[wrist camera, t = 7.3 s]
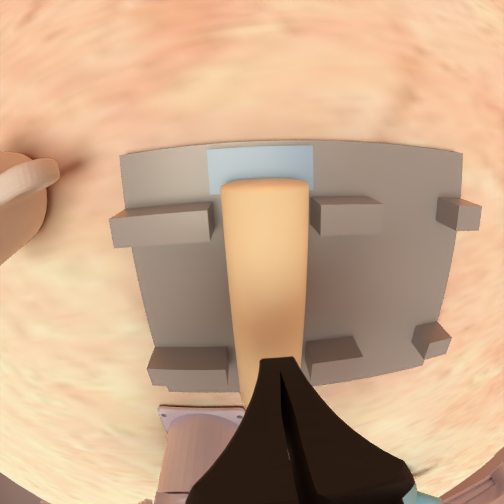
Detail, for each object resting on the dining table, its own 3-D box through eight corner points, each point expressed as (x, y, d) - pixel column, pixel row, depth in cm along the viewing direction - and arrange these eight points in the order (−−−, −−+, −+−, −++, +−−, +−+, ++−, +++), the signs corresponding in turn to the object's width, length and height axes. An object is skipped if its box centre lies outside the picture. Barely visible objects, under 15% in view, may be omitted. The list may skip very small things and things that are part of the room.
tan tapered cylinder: (296, 371, 21) (300, 413, 17) (242, 372, 21) (238, 414, 17) (302, 176, 15) (315, 193, 11) (226, 179, 15) (213, 196, 11)
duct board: (417, 358, 22) (433, 382, 19) (171, 383, 22) (163, 413, 19) (454, 152, 16) (485, 156, 13) (125, 154, 16) (101, 158, 13)
